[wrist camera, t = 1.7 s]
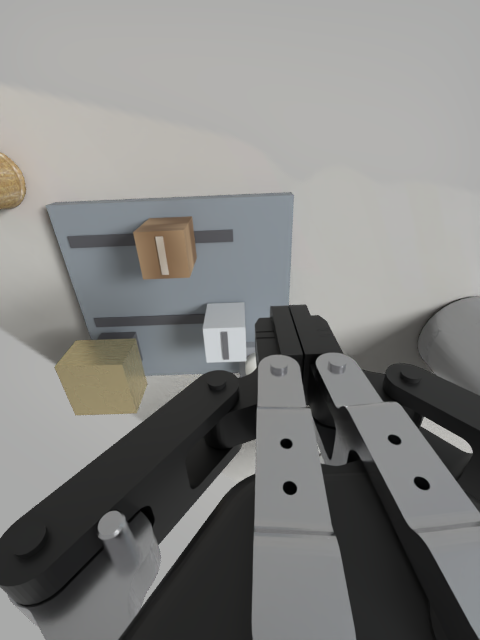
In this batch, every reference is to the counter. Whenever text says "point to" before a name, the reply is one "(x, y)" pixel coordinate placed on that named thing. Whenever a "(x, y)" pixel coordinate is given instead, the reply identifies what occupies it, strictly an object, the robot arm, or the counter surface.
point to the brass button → (103, 376)
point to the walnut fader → (166, 247)
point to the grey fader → (225, 332)
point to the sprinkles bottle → (10, 183)
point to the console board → (177, 293)
